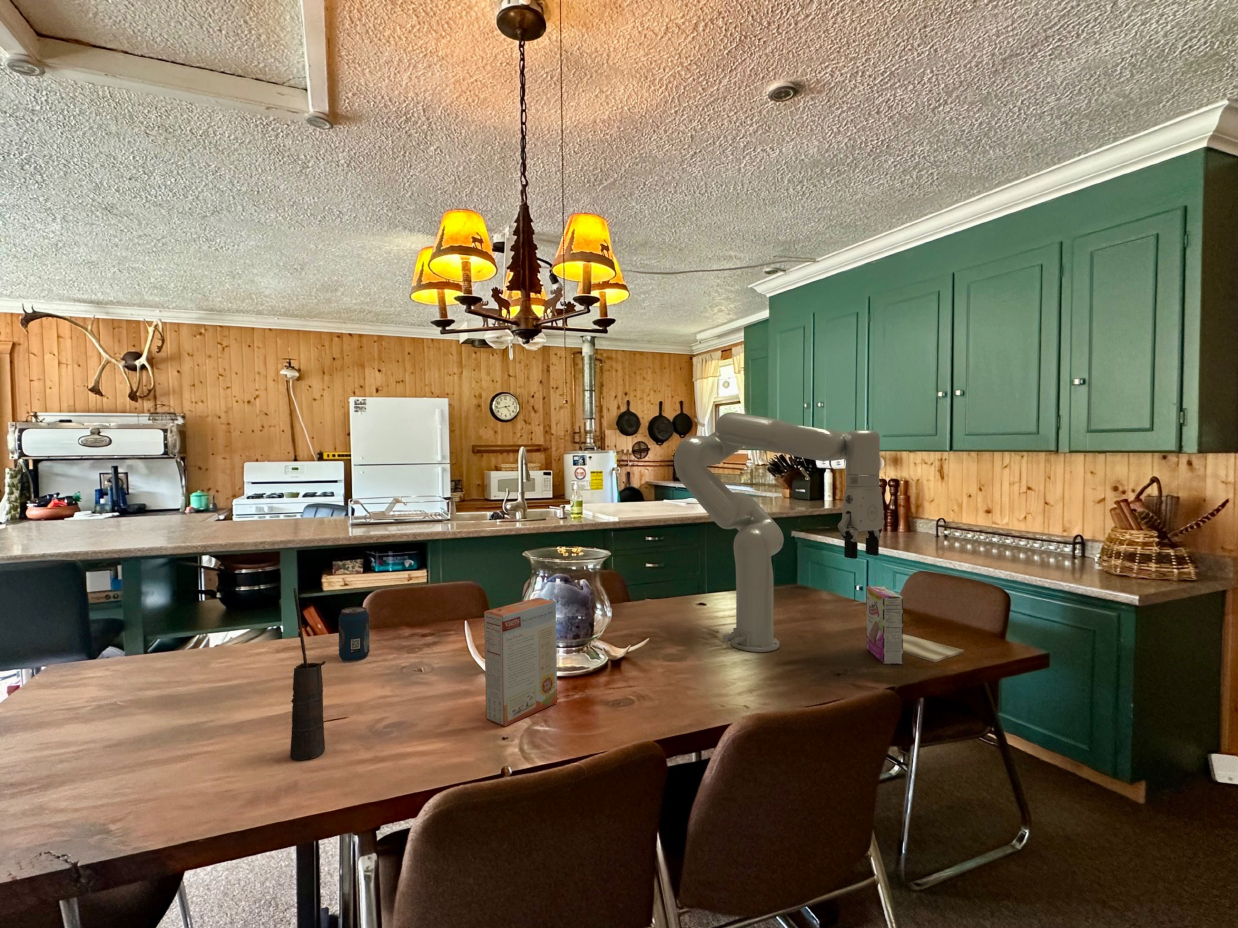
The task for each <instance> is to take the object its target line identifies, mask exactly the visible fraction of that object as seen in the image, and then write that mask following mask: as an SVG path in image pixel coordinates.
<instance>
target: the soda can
mask: <svg viewBox="0 0 1238 928" xmlns="http://www.w3.org/2000/svg"><path fill="white" fill-rule="evenodd" d="M370 647H371V645H370V614H369V612H368V610H367V608H366V607H365V606H350V607H345V608H343V609H341V611H340V614H339V617H338V655H339V658H340V659H341V661H343V662H344V663H353V662H354V663H355V662H360V661H363V660H365V659H367V658H368V655H369V653H370V650H371V649H370Z"/></svg>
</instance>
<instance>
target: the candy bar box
mask: <svg viewBox="0 0 1238 928" xmlns="http://www.w3.org/2000/svg"><path fill="white" fill-rule="evenodd" d="M865 587H866V590H865V591H866V605H865V606H866V607H865V609H866V612H865V615H866V627H865V629H866V642H865V644H866V645H865V646H866V650H867V651H868V652H869V653H870V654H872V655H873V656H874V658H876V659H877V660H878V661H880V662H881V663H882V664H883V665H903V664H904V662H903V660H904V659H903V656H904V653H903V634H904V596H902V595H900V594H899V593H897V592H894V591H892V590H891V589H889V588H887V587H886V586H883V585H882V586H877V585H875V586H871V585H870V586H865Z"/></svg>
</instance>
